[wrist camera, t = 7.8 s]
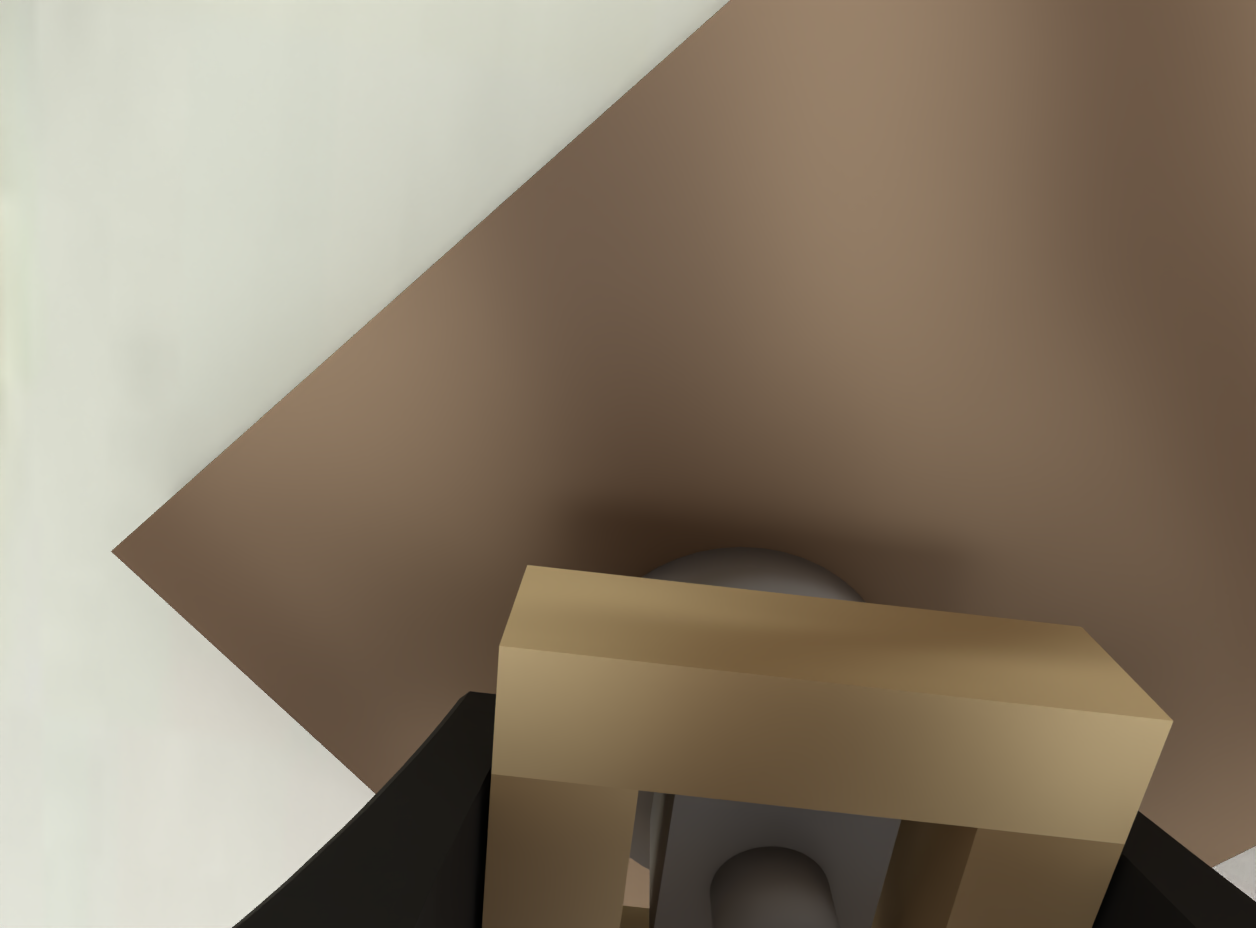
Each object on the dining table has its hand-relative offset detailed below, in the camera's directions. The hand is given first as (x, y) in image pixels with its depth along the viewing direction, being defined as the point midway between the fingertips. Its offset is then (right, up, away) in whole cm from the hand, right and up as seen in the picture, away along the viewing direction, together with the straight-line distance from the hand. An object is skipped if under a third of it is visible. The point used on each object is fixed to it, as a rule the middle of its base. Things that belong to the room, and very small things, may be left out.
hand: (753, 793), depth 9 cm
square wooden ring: (0, 0, 0) cm, 1 cm away
